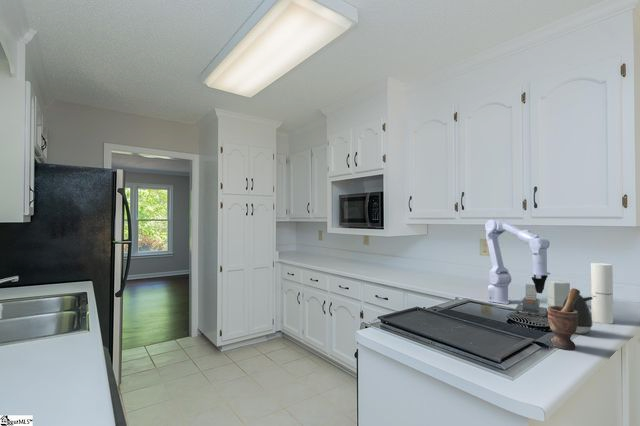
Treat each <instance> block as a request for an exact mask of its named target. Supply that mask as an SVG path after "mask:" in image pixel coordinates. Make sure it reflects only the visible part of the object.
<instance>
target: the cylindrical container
mask: <svg viewBox="0 0 640 426" xmlns="http://www.w3.org/2000/svg"><path fill="white" fill-rule="evenodd" d="M613 278H614V276H613V264H612V263H606V262H603V263H601V262H590V292H591V294H590V297H592V298H593V299H592V300H590V305H591V309H590V313H591V317H592V322H595V323H599V324H603V325H605V324H606V325H612V324H614V307H613V306H614V289H613V288H614V287H613V285H614V284H613V283H614V282H613Z"/></svg>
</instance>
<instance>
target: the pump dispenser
mask: <svg viewBox="0 0 640 426" xmlns="http://www.w3.org/2000/svg"><path fill="white" fill-rule="evenodd" d="M567 299H568V296H567V298H566V299H565V301H564V303H563V306H562V307H565V305H566V302H567ZM592 299H593V298H592V297H591V296H587V297H583V296H582V295H581V294H580V295H579V297H578V299H577V300H576V302H575V303H574V305H573V307H572V309H574V310H576V311H577V312H578V325H577V329H576V332H575V333H574V334H577V333H578V335H582V334H583V335H584V334H587V333H589V332H590V330H591V329H592V326H593V321H592V312H591V309H590V307H589V305H588V304H587V302H589V301H591V300H592Z"/></svg>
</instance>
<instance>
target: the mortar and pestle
mask: <svg viewBox="0 0 640 426" xmlns="http://www.w3.org/2000/svg"><path fill="white" fill-rule="evenodd" d="M579 295H581V291H580V289H577V288H573V287H572V288H571V289H570V292H569V295H568V299H567V302H566V305H565V307H561V306H550V305H548V306H547V321H548V324H549V328H550V330H551V331H552V333H553V334H554V336H553V337H552V338H550V339H551V341H552V343H553V346H552V348H553V347H554V348H558V349H562V350H569V351H571V350H572V351H573V350H575V349H576V348H577V347H576V346H577V345H576V344H575V342H574V341H573V340H572V339H571V337H572V336H573V335H575V334H576V333H575V332H576V329H577V325H578V312H577V311H576V310H574V309H572V307H573V305H574V303H575V302H576V300H577V299H578V297H579Z"/></svg>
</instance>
